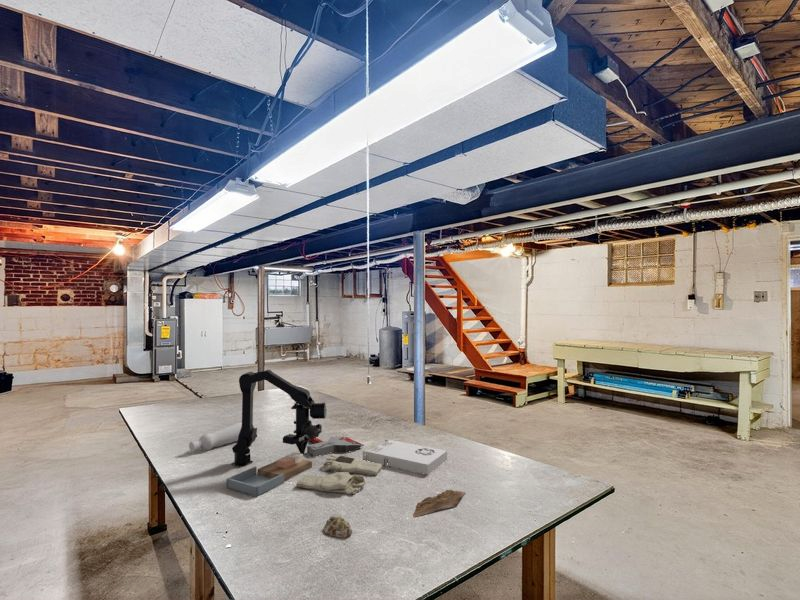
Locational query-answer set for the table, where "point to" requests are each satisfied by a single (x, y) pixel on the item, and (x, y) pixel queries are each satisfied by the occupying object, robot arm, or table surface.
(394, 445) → the power supply unit
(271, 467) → the board
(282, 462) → the terracotta tile
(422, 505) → the wooden fragment
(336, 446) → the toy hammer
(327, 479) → the pair of gloves
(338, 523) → the mineral rock
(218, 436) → the bottle
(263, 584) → the table surface
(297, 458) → the cream tile
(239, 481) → the tray
